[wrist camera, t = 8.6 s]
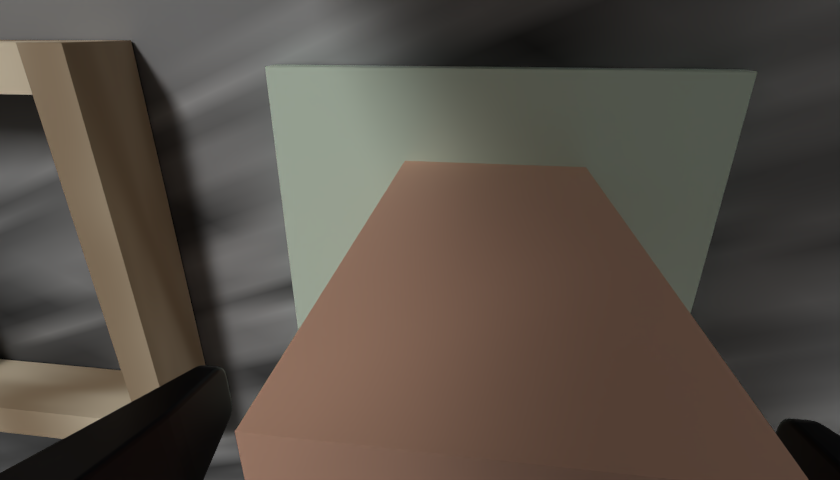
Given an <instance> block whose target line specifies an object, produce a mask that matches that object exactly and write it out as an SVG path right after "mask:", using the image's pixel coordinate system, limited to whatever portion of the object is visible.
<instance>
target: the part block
mask: <svg viewBox="0 0 840 480" xmlns="http://www.w3.org/2000/svg"><path fill="white" fill-rule="evenodd" d="M235 436H236V440H237V445H238V450H239V455H240V459H241V464H242V469H243V473H244V478H245V480H809V479H808V478H807V477H806V475H805V474H804V472H803V471H802V470H801V468H800V467H799V465H798V464H797V463H796V461H795V460H794V458H793V457H792V456H791V454H790V453H789V451H788V450H787V448H786V447H785V446H784V444H783V443H782V441H781V440H780V439H779V437H778V436H777V434H776V433H775V432H774V430H773V429H772V427H771V426H770V425H769V423H768V422H767V420H766V419H765V418H764V416H763V415H762V413H761V412H760V411H759V409H758V408H757V406H756V405H755V404H754V402H753V401H752V399H751V398H750V397H749V395H748V394H747V392H746V391H745V390H744V388H743V387H742V385H741V384H740V383H739V381H738V380H737V378H736V377H735V376H734V374H733V373H732V371H731V370H730V369H729V367H728V366H727V364H726V363H725V362H724V360H723V359H722V357H721V356H720V354H719V353H718V352H717V350H716V349H715V347H714V346H713V345H712V343H711V342H710V340H709V339H708V338H707V336H706V335H705V333H704V332H703V331H702V329H701V328H700V326H699V325H698V324H697V322H696V321H695V319H694V318H693V317H692V315H691V314H690V312H689V311H688V310H687V308H686V307H685V305H684V304H683V303H682V301H681V300H680V298H679V297H678V296H677V294H676V293H675V291H674V290H673V289H672V287H671V286H670V284H669V283H668V282H667V280H666V279H665V277H664V276H663V275H662V273H661V272H660V270H659V269H658V268H657V266H656V265H655V263H654V262H653V261H652V259H651V258H650V256H649V255H648V253H647V252H646V251H645V249H644V248H643V246H642V245H641V244H640V242H639V241H638V239H637V238H636V237H635V235H634V234H633V232H632V231H631V230H630V228H629V227H628V225H627V224H626V223H625V221H624V220H623V218H622V217H621V216H620V214H619V213H618V211H617V210H616V209H615V207H614V206H613V204H612V203H611V202H610V200H609V199H608V197H607V196H606V195H605V193H604V192H603V190H602V189H601V188H600V186H599V185H598V183H597V182H596V181H595V179H594V178H593V176H592V175H591V174H590V172H589V171H588V169H587V168H586V167H567V166H538V165H510V164H482V163H454V162H426V161H404V163H403V164H402V166H401V168H400V169H399V171H398V172H397V174H396V176H395V177H394V179H393V180H392V182H391V184H390V185H389V187H388V188H387V190H386V192H385V193H384V195H383V196H382V198H381V199H380V201H379V203H378V204H377V206H376V207H375V209H374V211H373V212H372V214H371V215H370V217H369V219H368V220H367V222H366V223H365V225H364V227H363V228H362V230H361V231H360V233H359V234H358V236H357V238H356V239H355V241H354V242H353V244H352V246H351V247H350V249H349V250H348V252H347V254H346V255H345V257H344V258H343V260H342V262H341V263H340V265H339V266H338V268H337V270H336V271H335V273H334V274H333V276H332V277H331V279H330V281H329V282H328V284H327V285H326V287H325V289H324V290H323V292H322V293H321V295H320V297H319V298H318V300H317V301H316V303H315V305H314V306H313V308H312V309H311V311H310V312H309V314H308V316H307V317H306V319H305V320H304V322H303V324H302V325H301V327H300V328H299V330H298V332H297V333H296V335H295V336H294V338H293V340H292V341H291V343H290V344H289V346H288V348H287V349H286V351H285V352H284V354H283V355H282V357H281V359H280V360H279V362H278V363H277V365H276V367H275V368H274V370H273V371H272V373H271V375H270V376H269V378H268V379H267V381H266V383H265V384H264V386H263V387H262V389H261V390H260V392H259V394H258V395H257V397H256V398H255V400H254V402H253V403H252V405H251V406H250V408H249V410H248V411H247V413H246V414H245V416H244V418H243V419H242V421H241V422H240V424H239V425H238V427H237V429H236V430H235Z"/></svg>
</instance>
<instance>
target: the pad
mask: <svg viewBox="0 0 840 480" xmlns="http://www.w3.org/2000/svg"><path fill="white" fill-rule="evenodd" d="M265 70H266V78H267V86H268V94H269V102H270V110H271V118H272V126H273V134H274V142H275V150H276V157H277V165H278V173H279V181H280V189H281V197H282V205H283V213H284V221H285V229H286V237H287V245H288V253H289V261H290V269H291V277H292V285H293V293H294V301H295V309H296V317H297V325H298V330H299V328H300V327H301V325H302V324H303V322H304V320H305V319H306V317H307V316H308V314H309V312H310V311H311V309H312V308H313V306H314V305H315V303H316V301H317V300H318V298H319V297H320V295H321V293H322V292H323V290H324V289H325V287H326V285H327V284H328V282H329V281H330V279H331V277H332V276H333V274H334V273H335V271H336V270H337V268H338V266H339V265H340V263H341V262H342V260H343V258H344V257H345V255H346V254H347V252H348V250H349V249H350V247H351V246H352V244H353V242H354V241H355V239H356V238H357V236H358V234H359V233H360V231H361V230H362V228H363V227H364V225H365V223H366V222H367V220H368V219H369V217H370V215H371V214H372V212H373V211H374V209H375V207H376V206H377V204H378V203H379V201H380V199H381V198H382V196H383V195H384V193H385V192H386V190H387V188H388V187H389V185H390V184H391V182H392V180H393V179H394V177H395V176H396V174H397V172H398V171H399V169H400V168H401V166H402V164H403V163H404V161H426V162H454V163H482V164H510V165H538V166H567V167H586V168H587V169H588V171H589V172H590V174H591V175H592V176H593V178H594V179H595V181H596V182H597V183H598V185H599V186H600V188H601V189H602V190H603V192H604V193H605V195H606V196H607V197H608V199H609V200H610V202H611V203H612V204H613V206H614V207H615V209H616V210H617V211H618V213H619V214H620V216H621V217H622V218H623V220H624V221H625V223H626V224H627V225H628V227H629V228H630V230H631V231H632V232H633V234H634V235H635V237H636V238H637V239H638V241H639V242H640V244H641V245H642V246H643V248H644V249H645V251H646V252H647V253H648V255H649V256H650V258H651V259H652V261H653V262H654V263H655V265H656V266H657V268H658V269H659V270H660V272H661V273H662V275H663V276H664V277H665V279H666V280H667V282H668V283H669V284H670V286H671V287H672V289H673V290H674V291H675V293H676V294H677V296H678V297H679V298H680V300H681V301H682V303H683V304H684V305H685V307H686V308H687V310H688V311H689V312H690V314H691V310H692V307H693V303H694V300H695V296H696V292H697V289H698V285H699V282H700V278H701V274H702V271H703V267H704V263H705V260H706V256H707V253H708V249H709V245H710V242H711V238H712V235H713V231H714V227H715V224H716V220H717V216H718V213H719V209H720V206H721V202H722V198H723V195H724V191H725V187H726V184H727V180H728V177H729V173H730V169H731V166H732V162H733V159H734V155H735V151H736V148H737V144H738V140H739V137H740V133H741V130H742V126H743V122H744V119H745V115H746V112H747V108H748V104H749V101H750V97H751V93H752V90H753V86H754V83H755V79H756V75H757V71H750V70H744V69H666V68H566V67H466V66H366V65H271V66H265Z"/></svg>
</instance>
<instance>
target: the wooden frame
mask: <svg viewBox="0 0 840 480" xmlns="http://www.w3.org/2000/svg"><path fill="white" fill-rule="evenodd" d="M0 94H18V95H33V98H34V101H35V104H36V107H37V110H38V113H39V116H40V119H41V123H42V126H43V129H44V132H45V135H46V138H47V141H48V144H49V147H50V150H51V154H52V157H53V160H54V163H55V166H56V169H57V172H58V175H59V178H60V182H61V185H62V188H63V191H64V194H65V197H66V200H67V203H68V206H69V209H70V213H71V216H72V219H73V222H74V225H75V228H76V231H77V234H78V237H79V240H80V244H81V247H82V250H83V253H84V256H85V259H86V262H87V265H88V268H89V272H90V275H91V278H92V281H93V284H94V287H95V290H96V293H97V296H98V299H99V303H100V306H101V309H102V312H103V315H104V318H105V321H106V324H107V327H108V331H109V334H110V337H111V340H112V343H113V346H114V349H115V352H116V355H117V358H118V362H119V365H120V368H121V370H111V369H100V368H90V367H79V366H68V365H58V364H47V363H36V362H26V361H15V360H4V359H0V432H8V433H17V434H25V435H34V436H43V437H52V438H60V439H64V438H66V437H68V436H69V435H71V434H73V433H75V432H77V431H79V430H80V429H82V428H84V427H86V426H88V425H90V424H92V423H93V422H95V421H97V420H99V419H101V418H103V417H104V416H106V415H108V414H110V413H112V412H114V411H116V410H117V409H119V408H121V407H123V406H125V405H127V404H128V403H130V402H132V401H134V400H136V399H138V398H140V397H141V396H143V395H145V394H147V393H149V392H151V391H152V390H154V389H156V388H158V387H160V386H162V385H163V384H165V383H167V382H169V381H171V380H173V379H175V378H176V377H178V376H180V375H182V374H184V373H186V372H187V371H189V370H191V369H193V368H195V367H197V366H200V365H205V361H204V356H203V352H202V348H201V343H200V339H199V335H198V330H197V326H196V321H195V317H194V313H193V308H192V304H191V300H190V295H189V291H188V287H187V282H186V278H185V274H184V269H183V265H182V261H181V256H180V252H179V248H178V243H177V239H176V234H175V230H174V226H173V221H172V217H171V213H170V208H169V204H168V200H167V195H166V191H165V187H164V182H163V178H162V174H161V169H160V165H159V160H158V156H157V152H156V147H155V143H154V139H153V134H152V130H151V126H150V121H149V117H148V113H147V108H146V104H145V100H144V95H143V91H142V87H141V82H140V78H139V73H138V69H137V65H136V60H135V56H134V52H133V47H132V43H131V40H0Z"/></svg>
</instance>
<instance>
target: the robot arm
mask: <svg viewBox="0 0 840 480" xmlns="http://www.w3.org/2000/svg"><path fill="white" fill-rule="evenodd" d="M231 412H232V400H231V395H230V391H229V386H228V381H227V376H226V373H225V371H224V369H223V368H221V367H217V366H206V365H200V366H197V367H195V368H193V369H191V370H189V371H187V372H186V373H184V374H182V375H180V376H178V377H176V378H175V379H173V380H171V381H169V382H167V383H165V384H163V385H162V386H160V387H158V388H156V389H154V390H152V391H151V392H149V393H147V394H145V395H143V396H141V397H140V398H138V399H136V400H134V401H132V402H130V403H128V404H127V405H125V406H123V407H121V408H119V409H117V410H116V411H114V412H112V413H110V414H108V415H106V416H104V417H103V418H101V419H99V420H97V421H95V422H93V423H92V424H90V425H88V426H86V427H84V428H82V429H80V430H79V431H77V432H75V433H73V434H71V435H69V436H68V437H66V438H64V439H62V440H60V441H58V442H57V443H55V444H53V445H51V446H49V447H47V448H45V449H44V450H42V451H40V452H38V453H36V454H34V455H33V456H31V457H29V458H27V459H25V460H23V461H21V462H20V463H18V464H16V465H14V466H12V467H10V468H9V469H7V470H5V471H3V472H1V473H0V480H203V479H204V477H205V475H206V472H207V470H208V468H209V465H210V463H211V461H212V458H213V456H214V454H215V451H216V449H217V447H218V444H219V442H220V440H221V437H222V435H223V433H224V430H225V428H226V426H227V423H228V421H229V418H230V416H231ZM776 434H777V436H778V437H779V439H780V440H781V441H782V443H783V444H784V446H785V447H786V448H787V450H788V451H789V453H790V454H791V456H792V457H793V458H794V460H795V461H796V463H797V464H798V465H799V467H800V468H801V470H802V471H803V472H804V474H805V475H806V477H807V478H808V479H809V480H840V436H839V435H838V434H836V433H835V432H833V431H831V430H830V429H828V428H827V427H825V426H824V425H822V424H820V423H818V422H816V421H811V420H801V419H785V420H783V421H782V422H781V423H780V425H779V427H778V429H777V431H776Z"/></svg>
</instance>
